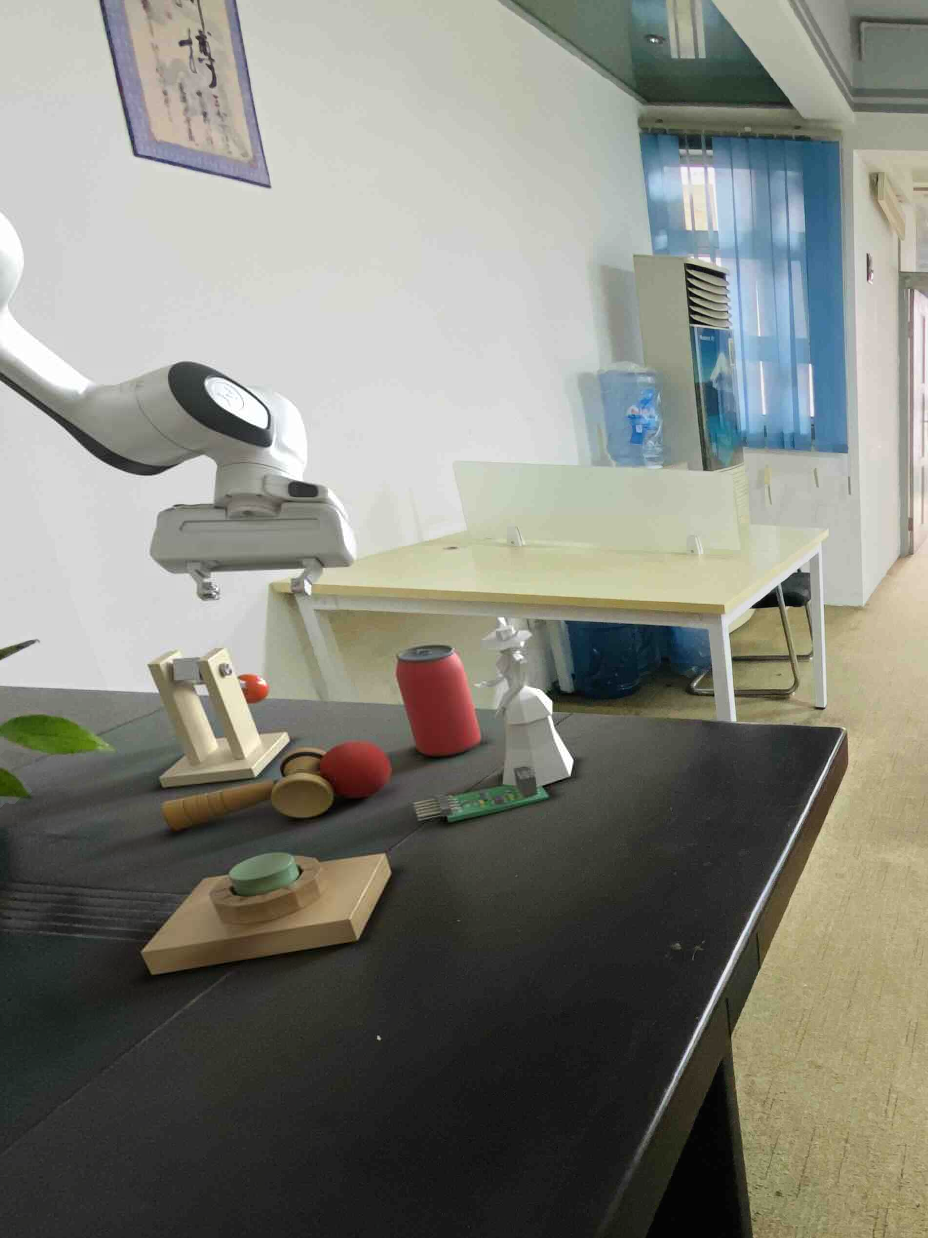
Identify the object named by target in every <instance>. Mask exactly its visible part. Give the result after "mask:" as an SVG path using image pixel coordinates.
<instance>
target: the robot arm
mask: <svg viewBox="0 0 928 1238" xmlns="http://www.w3.org/2000/svg"><path fill="white" fill-rule="evenodd" d="M24 256H25V255H24V251H23V247H22V244H21V240H20V238H19V236H18V233H17V231H16V230H15V228H14V226H13V224H12V222H10V220H8V218H7V217H6V216H5V215H4V214H3V213H2V212H1V211H0V382H1V383H3V384H4V385H6V386H7V387H8V388H9V389H11V390H12V391H14V392H15V393H17V394H18V395H19V396H21V397H22V398H24V400H26V401H28V402H29V403H30V404H32V405H33V406H34V407H36V408H37V409H39V410H40V411H41V412H43V413H44V414H45V415H47V416H48V417H49V418H50V419H52V420H54V421H55V422H56V423H57V424H58V425H59V426H60V427H62V428H63V429H64V430H65V431H66V432H67V433H68V434H69V435H70V436H71V437H72V438H74V440H76V442H77V443H78V444H80V445H81V446H82V447H83V449H85V450H86V451H87V452H88V453H90V455H92V456H93V457H94V458H96V459H97V460H99V461H100V462H102V463H104V464H106V465H108V466H109V467H112V468H115V469H117V470H119V471H122V472H124V473H128V474H131V475H136V476H140V477H141V476H143V477H152V476H156V475H160V474H162V473H165V472H166V471H168V470H171V469H173V468H176V467H177V466H179V465H181V464H183V463H184V462H187V461H190V460H192V459H195V458H199V457H201V456H205V457H207V458H209V459H211V460H212V461H214V462H215V464H216V470H215V471H216V472H215V481H214V491H213V503H196V504H187V503H177V504H172V506H171V507H168V508H165V509H164V510H162V511H159V512H158V514H157V516H156V524H155V526H156V527H155V529H154V531H153V534H152V538H151V542H150V547H149V556H150V557H151V559H152V560H153V561H154V562H155V563H156V564H157V565H158V566H160V567H161V568H163V569H164V570H165V571H167V572H168V573H170V574H173V575H181V574H188V575H190V577H191V579H192V580H193V581H194V582H195V583H196V596H197V597H198V598H199V599H200V600H202V601H204V602H206V601H208V602H209V601H210V602H211V601H220V598H221V597H220V596H219V595H220V594H221V588H219V587H218V586H217V585H216V584H215V583H214V582H213V581H207V580H208V579H211V576H212V573H231V572H232V573H233V572H234V573H235V572H256V571H257V572H258V571H278V570H279V571H282V570H283V571H284V570H303V571H302V573H301V574H300V575H299V577H293V578H290V592H292V594H294V596H295V597H311V596H312V586H313V585H315V583H317V581H318V580H319V579H320V578H321V576H322V575H323V574H324V569H333V568H335V569H336V568H349V567H351V566H352V565H353V564H354V563H355V562H357V558H358V552H357V551H358V550H357V549H358V548H357V542H356V536H355V533H354V531H353V529H352V528H351V526H350V525H349V521H350V517H349V514H348V512H347V510H346V508H345V507H344V505H343V503H342V502H341V501H340V499H339V498H338V497H337V495H336V494H335V493H333V491H331V489H330V488H329V487H328V486H326V485H322V484H318V483H312V482H308V481H304V479H303V476H304V474H305V472H306V470H307V466H308V441H307V434H306V433H307V432H306V428H305V425H304V422H303V419H302V416H301V414H300V412H299V410H298V409H297V407H296V406H295V405H294V404H293V403H292V402H291V401H290V400H289V399H287V398H286V397H284V396H283V395H281V394H280V393H278V392H275V391H274V390H271V389H268V388H265V387H263V386H257V385H242V384H241V383H239V382H238V381H236V380H234V379H233V378H231V377H229V375H226V374H224V373H223V372H221V371H219V370H217V369H215V368H213V367H210V366H207V365H205V364H202V363H200V362H199V363H198V362H195V361H185V360H183V361H179V362H177V363H172V364H169V365H166V366H162V367H160V368H157V369H154V370H151V371H148V372H146V373H143V374H142V375H140V376H136V377H135V378H132V379H128V380H125V381H123V382H119V383H117V384H104V383H100V382H95V381H93V380H90V379H88V378H87V377H84V376H83V375H82V374H80V372H78V371H77V370H76V369H74V368H73V367H72V366H71V365H70V364H68V363H67V362H66V361H64V360H63V359H62V358H61V357H59V356H58V355H57V354H55V353H54V352H53V351H52V350H50V349H49V347H47V346H45V345H44V344H43V343H42V342H40V341H39V340H38V339H37V338H35V337H34V336H33V335H31V334H30V333H29V332H28V331H26V330H25V329H24V328H23V327H22V326H21V325H20V324H19V322H17V320H15V318H14V317H13V315H12V313H11V312H10V310H9V304H8V303H9V301H10V300H11V298H12V296H13V294H14V293H15V291H16V289H17V287H18V285H19V283H20V280H21V277H22V275H23V272H24V266H25V257H24ZM206 579H207V580H206Z"/></svg>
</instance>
